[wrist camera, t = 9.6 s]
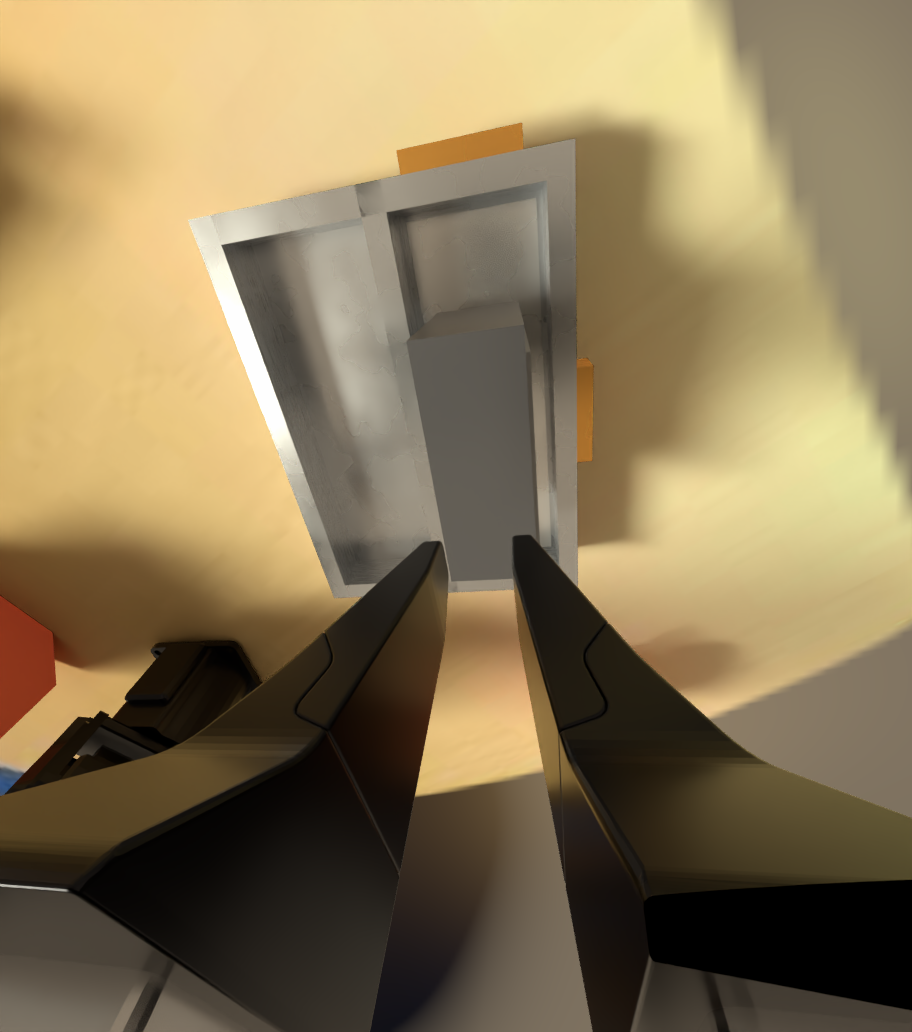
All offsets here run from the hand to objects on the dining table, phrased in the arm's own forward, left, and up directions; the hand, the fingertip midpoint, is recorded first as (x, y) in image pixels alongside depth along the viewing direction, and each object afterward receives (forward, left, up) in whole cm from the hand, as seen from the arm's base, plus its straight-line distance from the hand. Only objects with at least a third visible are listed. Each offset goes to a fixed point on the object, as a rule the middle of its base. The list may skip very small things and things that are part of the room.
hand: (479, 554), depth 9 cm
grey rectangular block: (0, 0, -10) cm, 10 cm away
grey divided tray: (0, +3, -11) cm, 11 cm away
